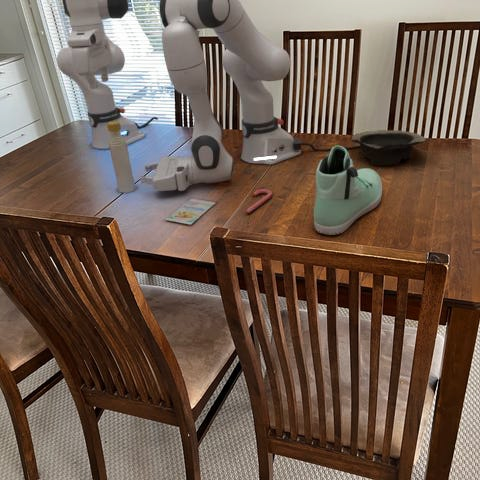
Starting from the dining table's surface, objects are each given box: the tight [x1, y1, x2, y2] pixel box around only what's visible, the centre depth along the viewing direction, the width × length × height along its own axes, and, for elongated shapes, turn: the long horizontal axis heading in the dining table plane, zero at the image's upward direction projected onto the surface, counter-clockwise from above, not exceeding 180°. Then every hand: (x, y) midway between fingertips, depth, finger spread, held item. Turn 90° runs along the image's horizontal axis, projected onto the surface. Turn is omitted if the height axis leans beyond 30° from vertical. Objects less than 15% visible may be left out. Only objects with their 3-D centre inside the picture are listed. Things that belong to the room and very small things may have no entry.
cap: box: [107, 121, 121, 132], centre depth 150 cm, size 4×4×2 cm
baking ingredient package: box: [164, 198, 216, 226], centre depth 144 cm, size 9×1×15 cm
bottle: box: [109, 131, 136, 194], centre depth 156 cm, size 6×6×22 cm
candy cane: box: [245, 188, 273, 215], centre depth 146 cm, size 6×15×2 cm, turn 145°
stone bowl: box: [351, 129, 427, 166], centre depth 167 cm, size 25×25×9 cm
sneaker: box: [313, 145, 383, 236], centre depth 133 cm, size 14×35×20 cm, turn 152°
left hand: (99, 84), depth 144 cm, fingers open, 8 cm apart
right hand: (143, 173), depth 158 cm, fingers open, 8 cm apart
